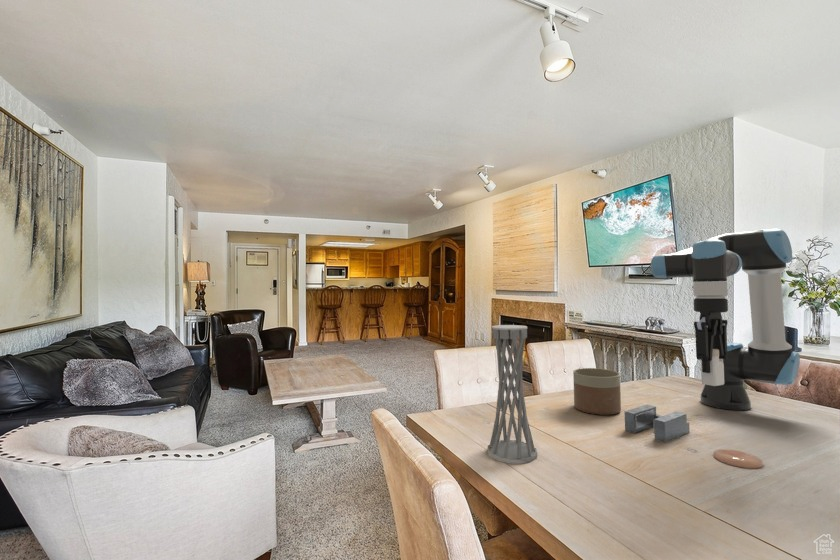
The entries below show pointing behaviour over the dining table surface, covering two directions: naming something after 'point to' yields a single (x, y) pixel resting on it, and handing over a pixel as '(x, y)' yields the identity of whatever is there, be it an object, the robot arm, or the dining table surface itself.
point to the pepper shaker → (717, 368)
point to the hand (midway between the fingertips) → (712, 383)
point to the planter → (597, 391)
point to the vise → (656, 423)
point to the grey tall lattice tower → (510, 448)
